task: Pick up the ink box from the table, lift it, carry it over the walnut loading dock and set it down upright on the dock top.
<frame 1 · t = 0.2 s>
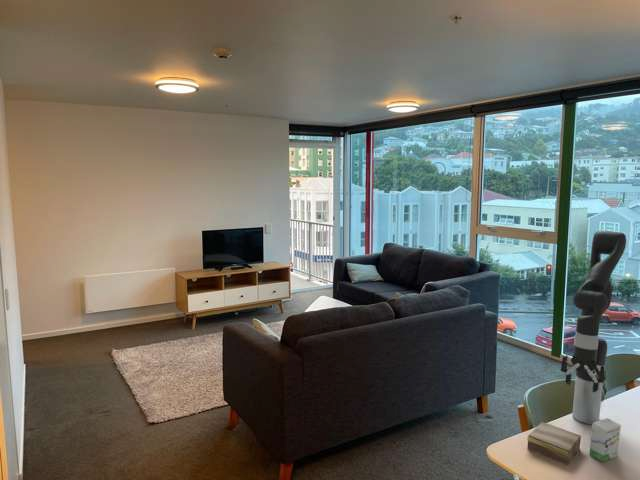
hand: (581, 387, 172), 18 cm above the table, tool pointing down, fingers open, 8 cm apart
walnut dock: (553, 448, 164), on the table
ink box: (603, 456, 161), on the table
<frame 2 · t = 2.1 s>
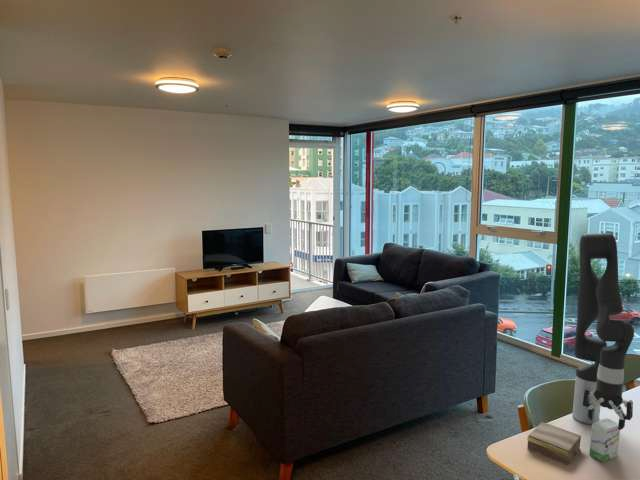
hand: (605, 424, 159), 12 cm above the table, tool pointing down, fingers open, 8 cm apart
nothing on the table moved.
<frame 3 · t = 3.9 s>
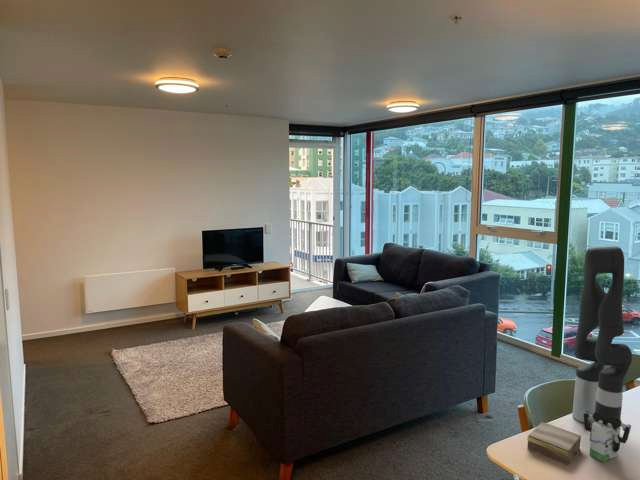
hand: (604, 447, 160), 3 cm above the table, tool pointing down, fingers closed on ink box, 6 cm apart
ink box: (603, 456, 161), on the table, touching gripper
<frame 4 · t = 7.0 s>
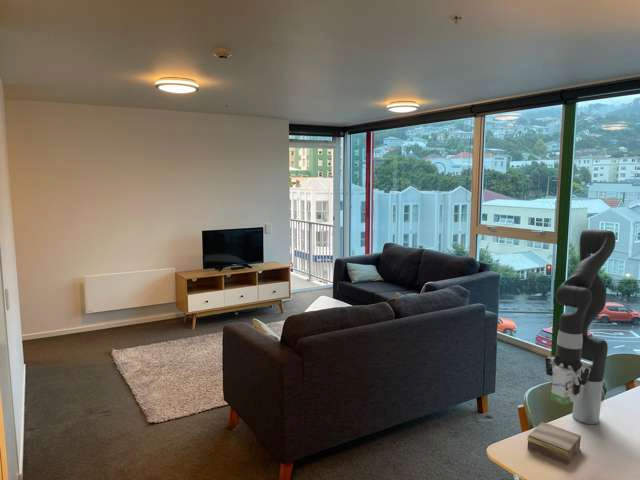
hand: (565, 391, 161), 22 cm above the table, tool pointing down, fingers closed on ink box, 6 cm apart
ink box: (564, 400, 161), point 18 cm above the table, touching gripper
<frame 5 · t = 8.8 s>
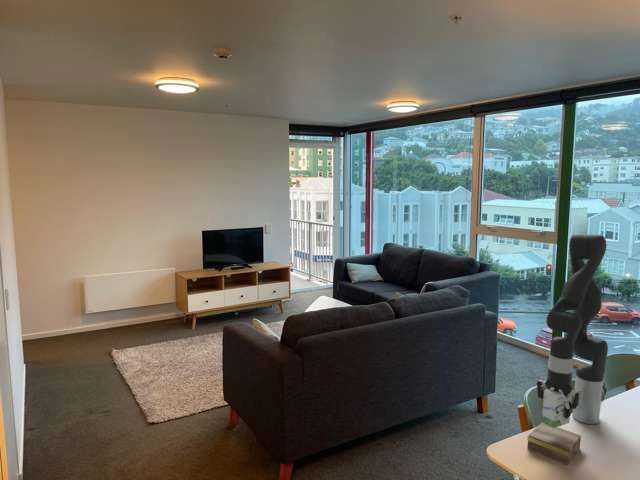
hand: (556, 414, 163), 13 cm above the table, tool pointing down, fingers closed on ink box, 6 cm apart
ink box: (555, 423, 163), point 10 cm above the table, touching gripper
when the fingers open (9 cm above the table, at t = 10.4 s): ink box drops 1 cm, resting on walnut dock.
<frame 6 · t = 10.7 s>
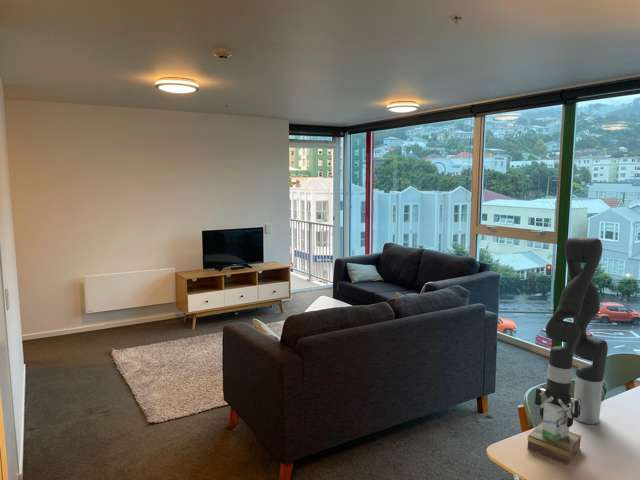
hand: (555, 421, 163), 10 cm above the table, tool pointing down, fingers open, 8 cm apart
ink box: (555, 436, 164), point 5 cm above the table, touching walnut dock
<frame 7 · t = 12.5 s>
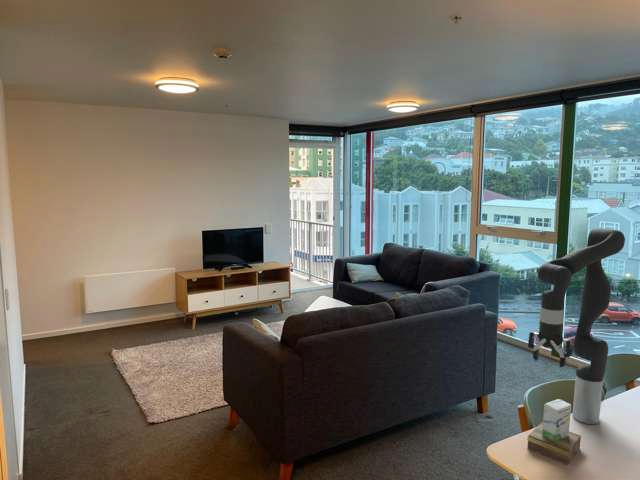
hand: (548, 363, 169), 28 cm above the table, tool pointing down, fingers open, 8 cm apart
nothing on the table moved.
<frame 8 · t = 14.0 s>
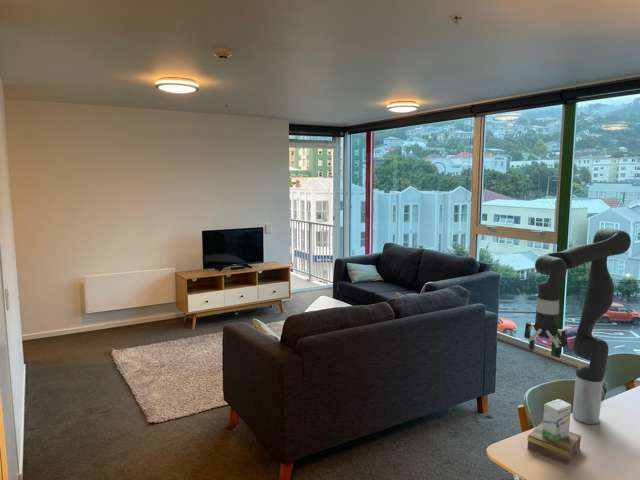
hand: (544, 353, 173), 30 cm above the table, tool pointing down, fingers open, 8 cm apart
nothing on the table moved.
at the end: ink box inside the target area on the walnut dock (0.2 cm from its centre), point 4.8 cm above the walnut dock's base; ink box tilted 0°; the gripper is holding nothing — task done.
